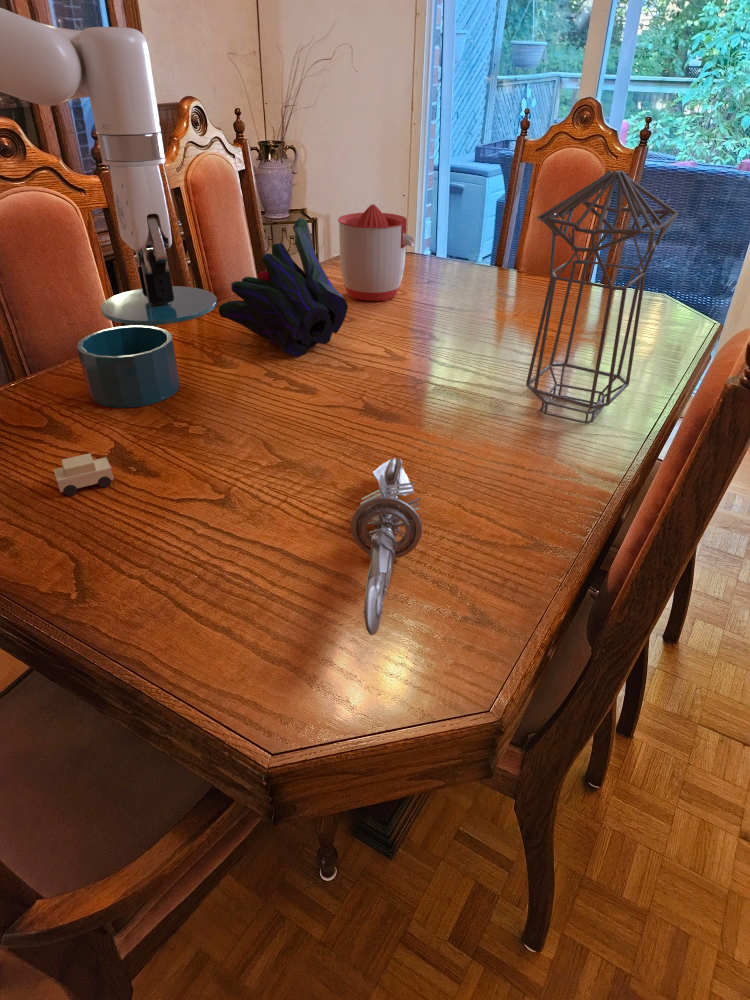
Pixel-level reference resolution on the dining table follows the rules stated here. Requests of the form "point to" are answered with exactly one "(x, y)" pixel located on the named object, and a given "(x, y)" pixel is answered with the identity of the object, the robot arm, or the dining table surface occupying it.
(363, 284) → the citrus juicer
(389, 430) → the dining table surface
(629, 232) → the geometric lantern
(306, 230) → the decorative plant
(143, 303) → the pot lid
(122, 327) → the pot
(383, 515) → the spaceship
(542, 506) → the dining table surface
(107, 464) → the toy car
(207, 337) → the dining table surface
